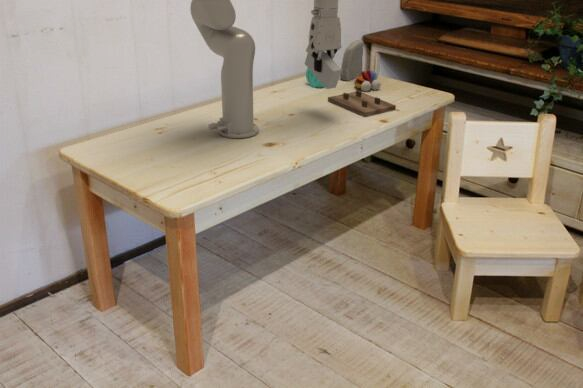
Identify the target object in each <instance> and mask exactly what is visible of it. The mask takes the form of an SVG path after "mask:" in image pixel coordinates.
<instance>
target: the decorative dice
mask: <svg viewBox="0 0 583 388" xmlns="http://www.w3.org/2000/svg"><path fill="white" fill-rule="evenodd" d="M305 78H306V81H307V83H308V85H309V86H311V87H312V88H316V89H317V88H321V89H322V88H323V89H324V87H325V86H324V85H323V84H322V83H321V82H320V81H319V79H318V78H317V77H316V76H315V75H314V74H313V73H312V72H311V70H310V69H309V68H308V67H307V68H306V71H305ZM325 88H326V87H325Z"/></svg>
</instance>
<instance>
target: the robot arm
mask: <svg viewBox="0 0 583 388" xmlns="http://www.w3.org/2000/svg"><path fill="white" fill-rule="evenodd" d="M338 11H339V0H313V9H312V10H311V11H310V13H311V15H312V17H311V21H310V24H309V25H310V26H309V32H308V44H307V47H306V49H305V52H306V53H307V54H308V53H309V54H311V56H312V57H313V58H314V70H315V71H317V72H321V68H322V60H320V59H321V53H322V51H325V52H326V53H327V54H328V55H329V56H330V57H331V59H332V60H333V59H334V58H335V55H336V54H337V52H338V51H339V50H340V49H342V28H341V27H342V25H341V19H340V16H339V15H338ZM190 14H191V17H192V20H193V22H194V24H195V26H196V28H197V30H198V31H199V33H200V35H201V37H202V39H203V40H204V42H205V44H206V45H207V46H208V48H209V49H210V50H211V52H212V53H214V54H216V55H218V56H220V57H222V58H223V61H222V65H221V71H220V83H221V84H220V85H221V86H220V87H221V89H220V90H221V107H222V108H221V113H222V117H219V120H218V121H217V122H214V123H209V124H208V130H209V131H212V130H213V131H214V130H215V131H217V132H218V134H219V135H220V136H223V137H225V138H230V139H245V138H246V139H247V138H251V137H254V136H256V135H257V134H258V133H259V132H260V130H259V126H258V125H257V124H256V123H254V122H255V121H254V79H253V77H254V76H253V75H254V74H253V73H254V72H253V71H254V61H255V55H256V43H255V40H254V39H253V36H252V35H251V34H250V33H249V32H247V31H246V30H244V29H242V28H239V27H236V26H234V24H235V22H236V17H237V16H236V10H235V7H234V6H233V3H232V2H231V0H191V2H190ZM312 49H314V51H313V50H312ZM317 52H318V53H317Z"/></svg>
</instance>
